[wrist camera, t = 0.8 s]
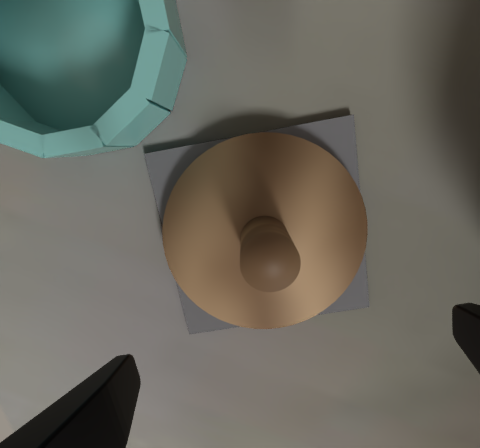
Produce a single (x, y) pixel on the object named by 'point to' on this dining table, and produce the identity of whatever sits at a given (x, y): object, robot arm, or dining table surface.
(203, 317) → the mat
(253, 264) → the lid
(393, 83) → the dining table surface
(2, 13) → the bowl
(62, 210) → the dining table surface
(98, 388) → the robot arm
